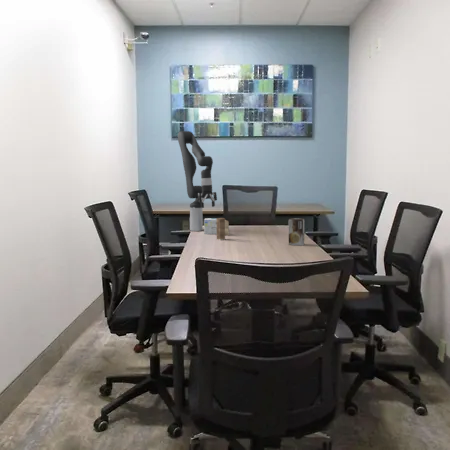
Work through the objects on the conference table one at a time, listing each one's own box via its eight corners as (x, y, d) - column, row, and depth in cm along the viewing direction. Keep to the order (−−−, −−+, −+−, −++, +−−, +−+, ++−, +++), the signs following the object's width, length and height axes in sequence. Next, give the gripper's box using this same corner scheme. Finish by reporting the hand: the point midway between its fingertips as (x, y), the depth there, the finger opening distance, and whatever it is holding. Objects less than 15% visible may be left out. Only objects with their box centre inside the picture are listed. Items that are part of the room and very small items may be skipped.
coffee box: (304, 243, 284) (305, 218, 281) (302, 245, 278) (303, 219, 275) (290, 243, 287) (290, 217, 284) (288, 245, 281) (288, 219, 278)
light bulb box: (220, 232, 328) (219, 218, 327) (219, 234, 322) (218, 219, 320) (205, 232, 329) (205, 217, 328) (204, 234, 323) (203, 219, 321)
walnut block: (216, 239, 302) (216, 218, 300) (221, 238, 305) (221, 217, 303) (220, 240, 299) (220, 218, 297) (225, 239, 301) (224, 218, 299)
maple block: (220, 234, 319) (220, 220, 317) (225, 234, 321) (225, 220, 320) (224, 235, 316) (223, 221, 314) (228, 235, 318) (228, 220, 317)
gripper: (212, 184, 330) (213, 206, 332) (195, 185, 323) (196, 207, 325) (217, 183, 324) (219, 206, 326) (200, 185, 317) (201, 208, 319)
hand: (208, 207), depth 325 cm, fingers open, 8 cm apart
